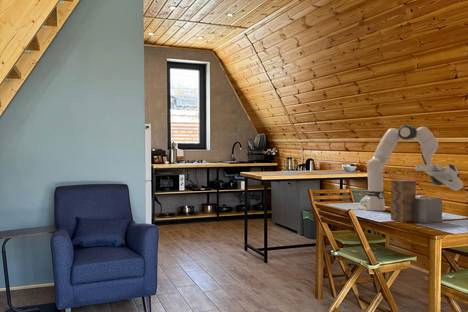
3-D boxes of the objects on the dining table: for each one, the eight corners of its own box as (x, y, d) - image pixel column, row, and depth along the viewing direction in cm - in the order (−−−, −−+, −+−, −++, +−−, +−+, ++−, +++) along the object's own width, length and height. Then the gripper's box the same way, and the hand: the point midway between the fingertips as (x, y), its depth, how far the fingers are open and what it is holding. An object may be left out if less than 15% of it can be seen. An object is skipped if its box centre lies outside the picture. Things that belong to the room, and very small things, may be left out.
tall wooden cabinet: (389, 219, 288) (390, 180, 288) (403, 218, 293) (403, 179, 293) (402, 222, 278) (403, 181, 278) (416, 220, 284) (416, 180, 283)
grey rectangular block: (415, 170, 288) (415, 165, 288) (436, 169, 296) (436, 164, 296) (419, 170, 285) (419, 165, 284) (441, 169, 293) (441, 164, 293)
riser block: (413, 221, 281) (413, 198, 281) (428, 219, 287) (429, 196, 287) (426, 224, 272) (426, 199, 271) (441, 222, 278) (442, 198, 277)
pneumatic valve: (421, 211, 321) (421, 195, 321) (412, 209, 333) (412, 193, 332) (428, 211, 322) (428, 195, 322) (419, 209, 334) (419, 193, 333)
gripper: (433, 171, 307) (421, 161, 302) (459, 172, 289) (447, 162, 284) (430, 179, 306) (418, 169, 301) (456, 181, 288) (443, 171, 282)
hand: (432, 166), depth 292 cm, fingers closed on grey rectangular block, 3 cm apart
